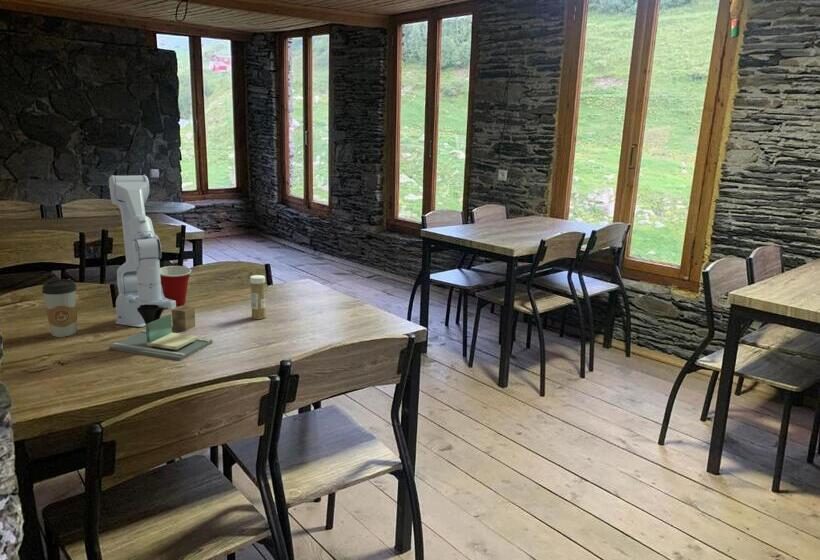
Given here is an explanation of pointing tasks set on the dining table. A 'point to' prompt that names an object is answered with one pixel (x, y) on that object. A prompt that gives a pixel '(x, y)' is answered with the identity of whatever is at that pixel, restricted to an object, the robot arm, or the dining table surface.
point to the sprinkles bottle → (258, 296)
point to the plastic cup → (175, 283)
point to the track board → (140, 347)
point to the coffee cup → (61, 306)
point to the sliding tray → (166, 335)
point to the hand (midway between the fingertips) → (152, 331)
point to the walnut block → (183, 318)
